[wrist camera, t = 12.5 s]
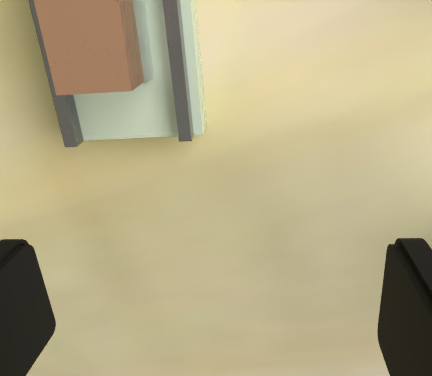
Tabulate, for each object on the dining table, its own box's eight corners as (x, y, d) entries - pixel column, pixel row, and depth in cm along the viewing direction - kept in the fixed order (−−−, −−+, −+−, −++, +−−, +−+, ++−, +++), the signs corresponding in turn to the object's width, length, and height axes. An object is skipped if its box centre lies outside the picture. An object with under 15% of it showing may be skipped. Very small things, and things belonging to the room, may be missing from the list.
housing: (139, -41, 27) (109, -53, 22) (154, 76, 31) (132, 94, 25) (70, -35, 28) (23, -45, 22) (92, 80, 31) (57, 98, 25)
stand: (206, 124, 35) (200, 140, 31) (77, 131, 36) (56, 147, 32) (184, -124, 28) (173, -146, 24) (23, -106, 29) (-14, -123, 25)
